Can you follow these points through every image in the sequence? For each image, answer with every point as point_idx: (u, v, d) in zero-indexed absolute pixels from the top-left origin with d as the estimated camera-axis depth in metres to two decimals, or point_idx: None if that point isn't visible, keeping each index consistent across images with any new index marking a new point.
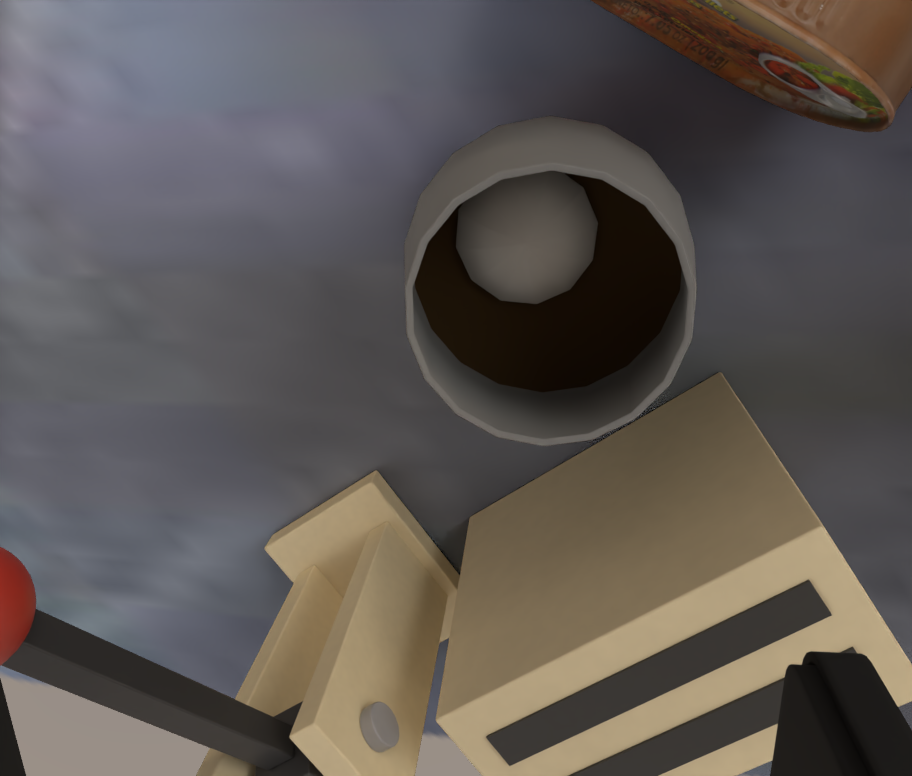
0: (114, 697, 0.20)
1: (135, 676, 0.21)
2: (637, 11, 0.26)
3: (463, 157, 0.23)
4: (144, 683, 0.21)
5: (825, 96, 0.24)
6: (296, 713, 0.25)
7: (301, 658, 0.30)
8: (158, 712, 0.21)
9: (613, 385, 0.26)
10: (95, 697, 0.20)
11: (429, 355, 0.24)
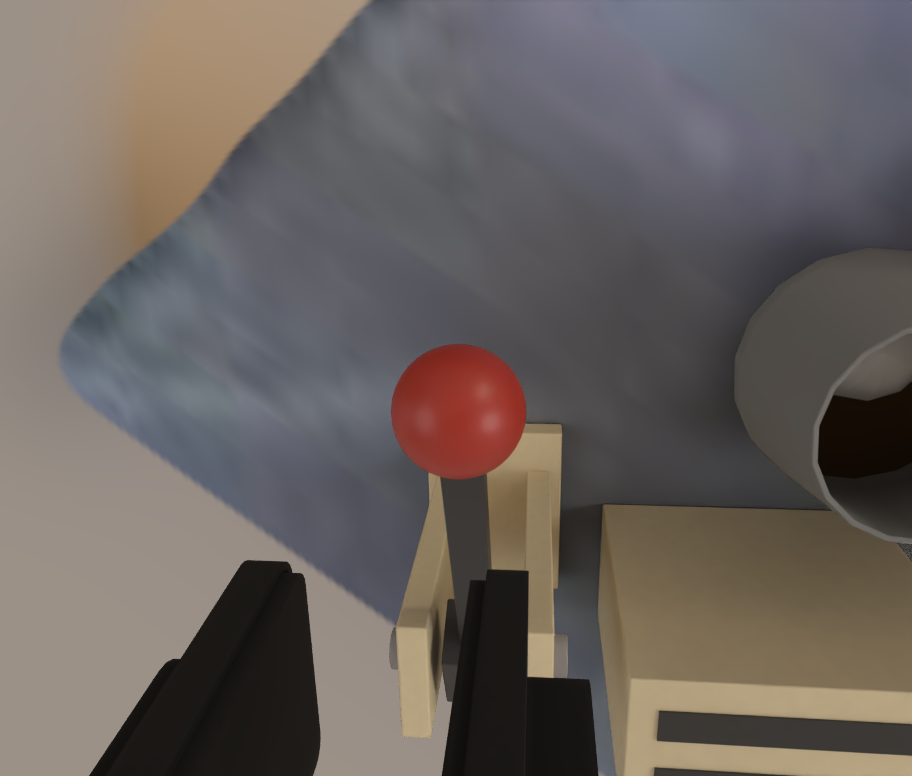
0: (465, 538, 0.22)
1: (487, 529, 0.22)
2: None
3: (905, 266, 0.27)
4: (487, 538, 0.22)
5: None
6: None
7: None
8: (471, 565, 0.23)
9: (854, 492, 0.30)
10: (454, 530, 0.21)
11: None
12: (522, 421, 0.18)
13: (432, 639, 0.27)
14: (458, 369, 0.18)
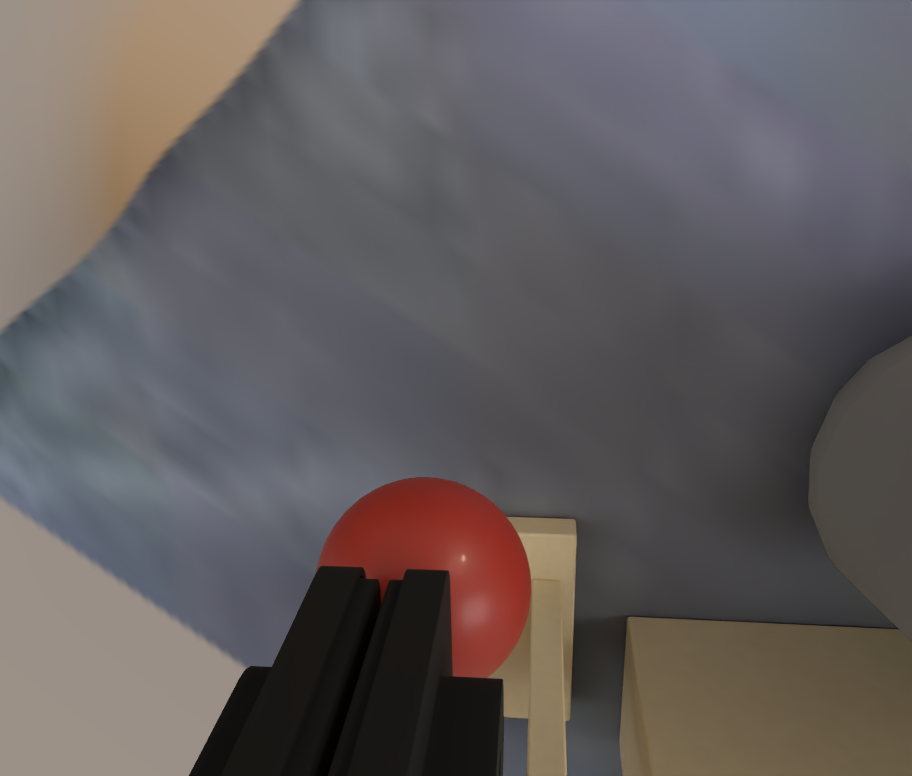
0: None
1: None
2: None
3: None
4: None
5: None
6: None
7: None
8: None
9: None
10: None
11: None
12: (525, 608, 0.11)
13: None
14: (420, 527, 0.11)
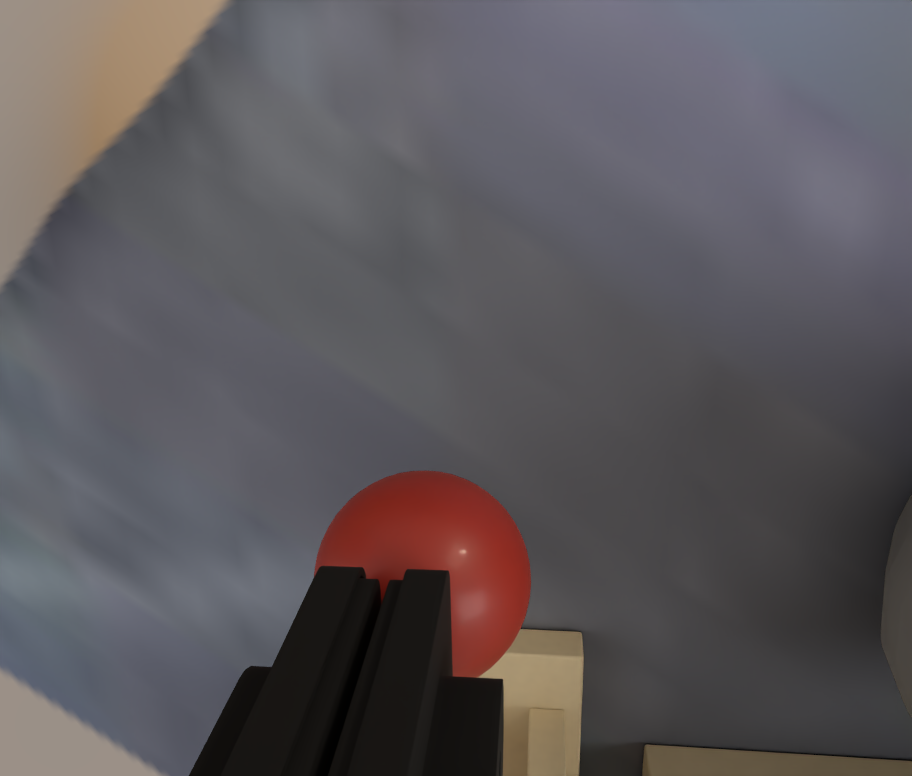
0: None
1: None
2: None
3: None
4: None
5: None
6: None
7: None
8: None
9: None
10: None
11: None
12: (525, 585, 0.11)
13: None
14: (426, 483, 0.11)
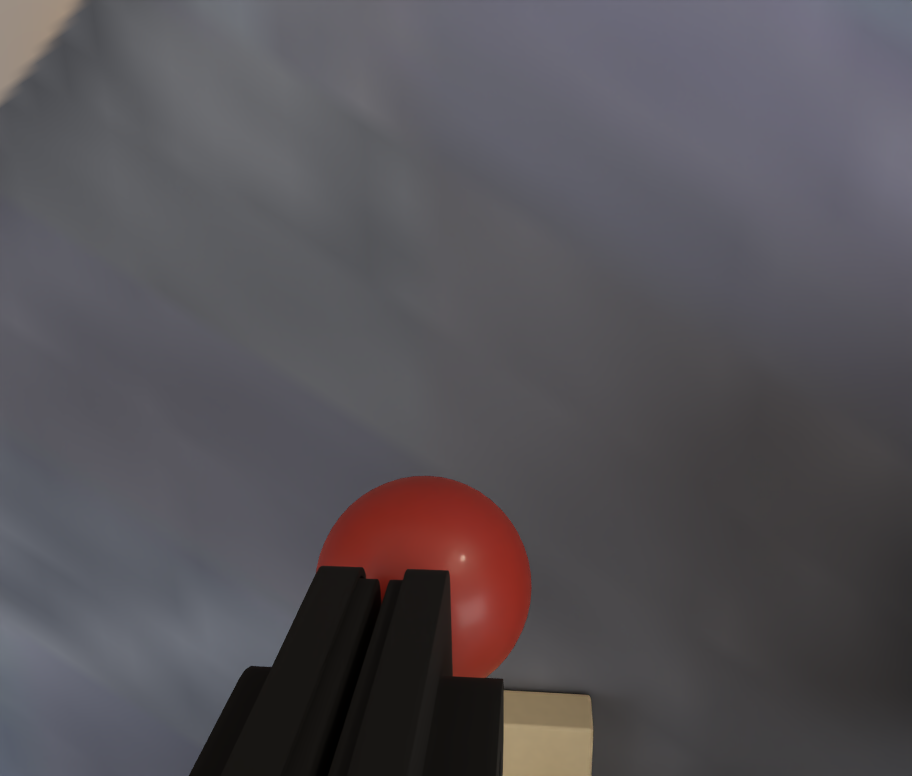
0: None
1: None
2: None
3: None
4: None
5: None
6: None
7: None
8: None
9: None
10: None
11: None
12: (525, 579, 0.11)
13: None
14: (431, 478, 0.12)
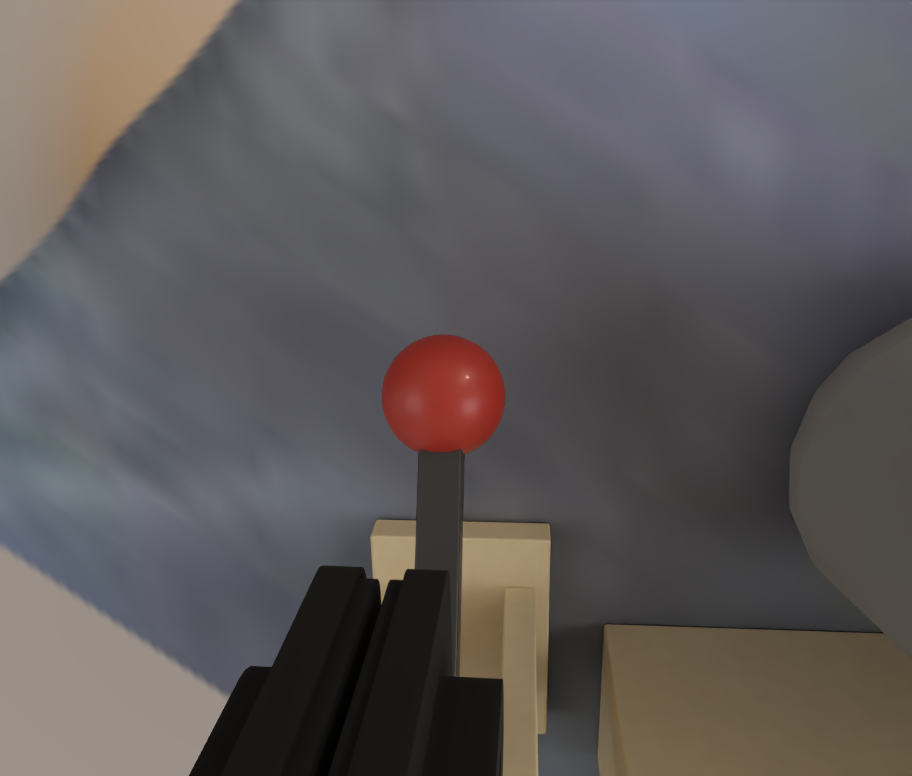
0: None
1: (460, 578, 0.20)
2: None
3: None
4: (459, 591, 0.19)
5: None
6: None
7: None
8: None
9: None
10: (424, 559, 0.19)
11: None
12: (501, 387, 0.20)
13: None
14: (448, 336, 0.21)
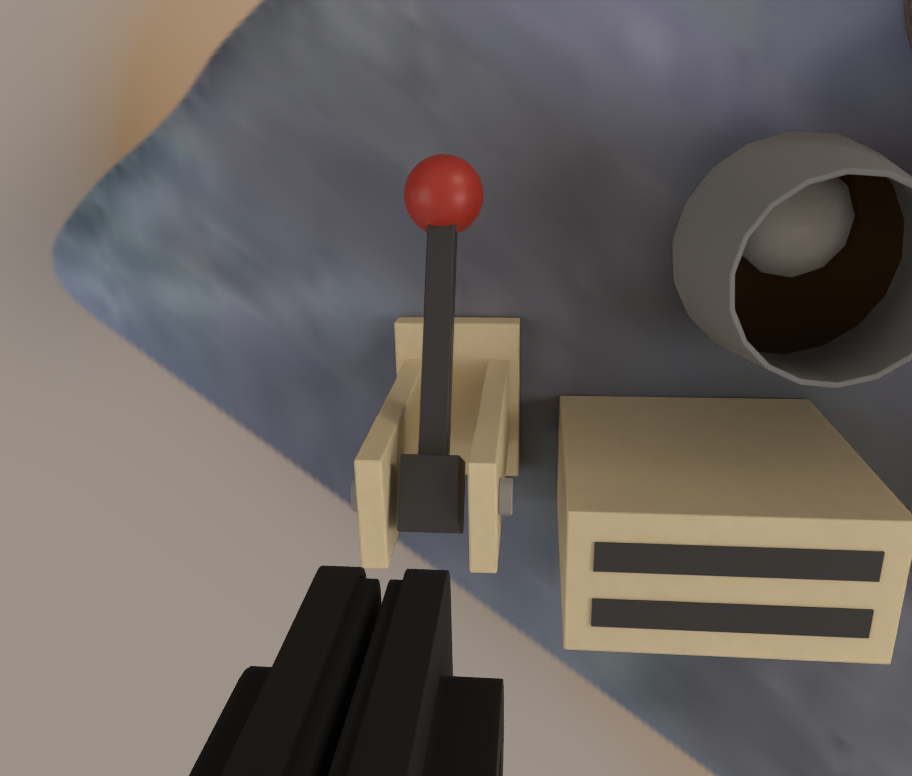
0: (437, 298, 0.31)
1: (453, 304, 0.31)
2: None
3: (819, 140, 0.29)
4: (452, 311, 0.31)
5: None
6: None
7: (412, 421, 0.34)
8: (439, 332, 0.30)
9: (782, 361, 0.33)
10: (431, 290, 0.31)
11: None
12: (480, 186, 0.31)
13: (389, 479, 0.29)
14: None
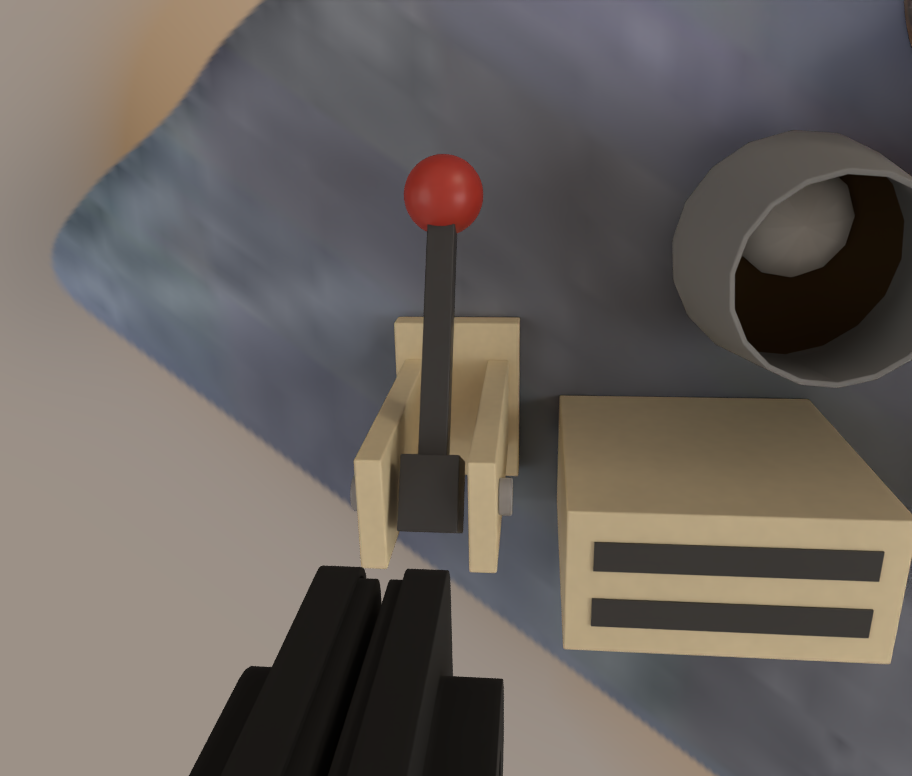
0: (437, 298, 0.31)
1: (453, 303, 0.31)
2: None
3: (819, 139, 0.29)
4: (452, 310, 0.31)
5: None
6: None
7: (411, 421, 0.34)
8: (438, 332, 0.30)
9: (782, 360, 0.33)
10: (430, 289, 0.31)
11: None
12: (480, 186, 0.31)
13: (388, 479, 0.29)
14: None
